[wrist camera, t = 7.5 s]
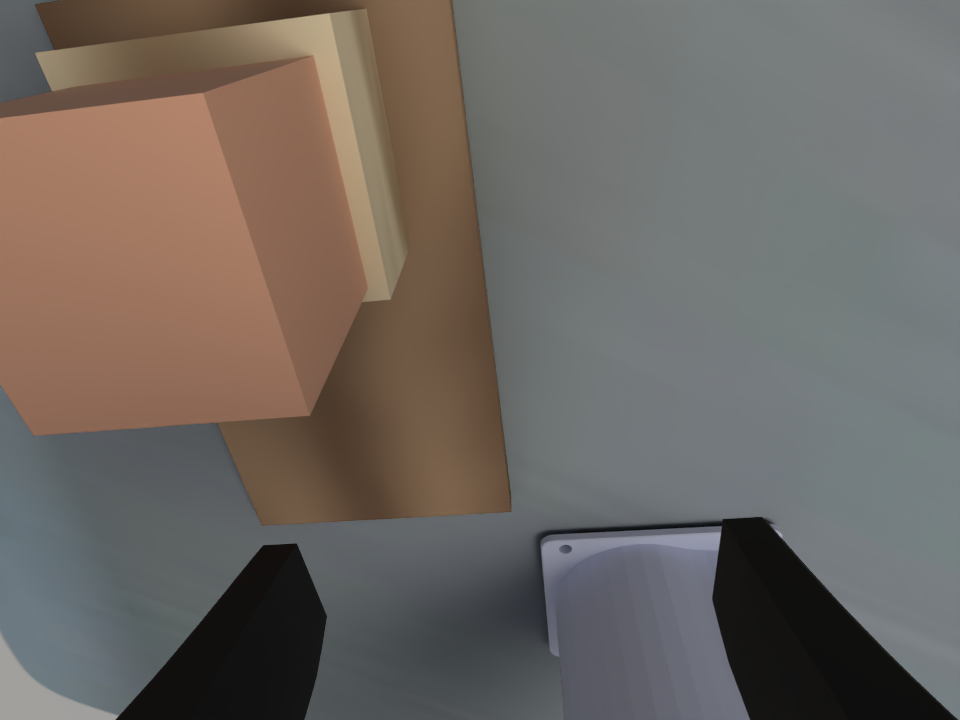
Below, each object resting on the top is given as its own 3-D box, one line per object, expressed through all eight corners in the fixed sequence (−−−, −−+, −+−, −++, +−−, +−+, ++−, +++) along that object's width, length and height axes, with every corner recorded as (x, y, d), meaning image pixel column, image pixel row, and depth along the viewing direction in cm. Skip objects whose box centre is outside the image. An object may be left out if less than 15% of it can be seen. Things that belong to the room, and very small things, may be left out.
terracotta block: (313, 55, 12) (202, 92, 7) (368, 288, 14) (309, 415, 10) (74, 86, 12) (-161, 138, 8) (170, 306, 15) (33, 435, 10)
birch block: (366, 8, 14) (329, 13, 11) (410, 246, 17) (390, 299, 14) (129, 39, 15) (35, 53, 12) (213, 265, 18) (155, 320, 15)
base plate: (445, -52, 14) (442, -54, 13) (511, 496, 24) (511, 512, 23) (55, 3, 15) (34, 4, 14) (268, 510, 24) (261, 525, 24)
